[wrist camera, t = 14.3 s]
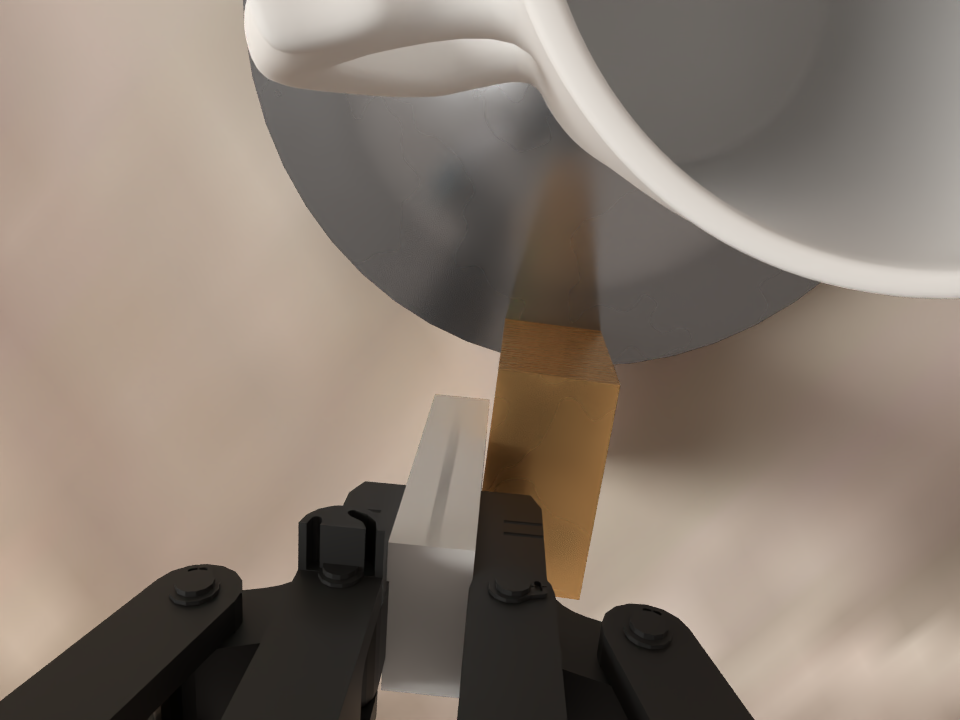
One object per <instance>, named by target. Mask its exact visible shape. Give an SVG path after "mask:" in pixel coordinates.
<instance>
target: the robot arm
mask: <svg viewBox="0 0 960 720" xmlns="http://www.w3.org/2000/svg"><path fill="white" fill-rule="evenodd" d="M488 411H489V400H488V399H477V398H467V397H457V396H446V395H435V396H434V400H433V403H432V406H431V409H430V412H429V415H428V418H427V422H426V425H425V428H424V431H423V434H422V437H421V441H420V444H419V447H418V450H417V453H416V456H415V460H414V463H413V466H412V469H411V472H410V475H409V478H408V482H407V485H397V484H387V483H376V482H366V481H365V482H364V483H362V484H361V485H359V486H358V487H356V488H355V489H354V490H352V491H351V492H349V494H348V496H347V498H346V500H345V503H344V505H343V506H331V507H326V508H321V509H318V510H316V511H313V512H311V513H309V514H307V515H306V516H305V517H304V518H303V519H302V520H301V521H300V522H299V544H298V571H297V573H296V575H295V577H294V579H293V581H292V582H289V583H286V584H283V585H279V586H274V587H268V588H260V589H250V590H242V579H241V578H240V577H239V576H238V574H237V573H236V572H235V571H233V570H230V569H228V568H226V567H224V566H217V565H210V564H200V565H192V566H187V567H184V568H181V569H177V570H174V571H171V572H170V573H168V574H166V575H164V576H163V577H161V578H159V579H157V580H156V581H155V582H153V583H152V584H151V585H150V586H148V587H147V588H146V589H144V590H143V591H142V592H141V593H139V594H138V595H137V596H135V597H134V598H133V599H131V600H130V601H129V602H128V603H126V604H125V605H124V606H122V607H121V608H120V609H119V610H117V611H116V612H115V613H113V614H112V615H111V616H110V617H108V618H107V619H106V620H104V621H103V622H102V623H101V624H99V625H98V626H97V627H95V628H94V629H93V630H91V631H90V632H89V633H88V634H86V635H85V636H84V637H82V638H81V639H80V640H79V641H77V642H76V643H75V644H73V645H72V646H71V647H70V648H68V649H67V650H66V651H64V652H63V653H62V654H60V655H59V656H58V657H57V658H55V659H54V660H53V661H51V662H50V663H49V664H48V665H46V666H45V667H44V668H42V669H41V670H40V671H39V672H37V673H36V674H35V675H33V676H32V677H31V678H29V679H28V680H27V681H26V682H24V683H23V684H22V685H20V686H19V687H18V688H17V689H15V690H14V691H13V692H11V693H10V694H9V695H8V696H6V697H5V698H4V699H2V700H1V701H0V720H375V719H376V711H377V690H378V685H379V681H380V677H381V673H382V683H381V690H386V691H396V692H406V693H415V694H423V695H433V696H443V697H453V698H459V706H458V717H457V720H754V719H753V717H752V716H751V714H750V713H749V712H748V710H747V709H746V707H745V706H744V705H743V703H742V702H741V700H740V699H739V698H738V696H737V695H736V693H735V692H734V691H733V689H732V688H731V686H730V685H729V684H728V682H727V681H726V679H725V678H724V677H723V675H722V674H721V673H720V671H719V670H718V668H717V667H716V666H715V664H714V663H713V661H712V660H711V659H710V657H709V656H708V654H707V653H706V652H705V650H704V649H703V647H702V646H701V645H700V643H699V642H698V640H697V639H696V638H695V636H694V635H693V633H692V632H691V631H690V629H689V628H688V627H687V626H686V625H685V624H684V623H683V622H682V621H681V620H680V619H679V618H677V617H675V616H673V615H672V614H670V613H668V612H666V611H665V610H662V609H659V608H656V607H652V606H649V605H643V604H625V605H621V606H616V607H614V608H613V609H611V610H610V611H608V612H607V613H605V616H604V618H603V621H602V622H601V621H597V620H594V619H591V618H588V617H585V616H583V615H580V614H578V613H575V612H573V611H571V610H570V609H568V608H566V607H565V606H563V605H562V604H561V603H560V602H558V601H557V600H556V598H555V593H554V590H553V588H552V585H551V584H550V583H549V582H548V581H547V572H546V559H545V545H544V532H543V519H542V509H541V508H540V506H539V505H538V504H537V503H536V501H535V500H534V499H533V498H532V497H531V495H522V494H511V493H500V492H490V491H481V489H482V478H483V467H484V455H485V444H486V433H487V422H488Z"/></svg>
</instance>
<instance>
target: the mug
mask: <svg viewBox="0 0 960 720" xmlns="http://www.w3.org/2000/svg"><path fill="white" fill-rule="evenodd" d="M244 27H245V35H246V40H247V45H248V49H249V52H250V55H251V58H252V60H253V62H254V64H255V65H256V67H257V69H258V70H259V71H260V72H261V73H262V74H263V75H264V76H265V77H266V78H268V79H270V80H272V81H274V82H277V83H280V84H282V85H286V86H290V87H294V88H300V89H307V90H315V91H324V92H334V93H346V94H357V95H368V96H384V97H437V96H444V95H449V94H454V93H459V92H463V91H468V90H473V89H477V88H482V87H487V86H492V85H497V84H502V83H510V82H523V83H528V84H531V85H532V86H534V87H535V88H537V90H538V91H539V92H540V93H541V94H542V97H543V99H544V101H545V103H546V105H547V106H548V108H549V110H550V111H551V113H552V114H553V116H554V117H555V119H556V120H557V122H558V123H559V124H560V126H561V127H562V128H563V129H564V131H565V132H566V133H567V134H568V135H569V136H570V137H571V139H572V140H573V141H574V142H575V143H577V144H578V145H579V146H580V147H581V148H582V149H583V150H585V151H586V152H587V153H589V154H590V155H591V156H593V157H594V158H595V159H597V160H598V161H600V162H601V163H603V164H605V165H606V166H608V167H609V168H611V169H612V170H613V171H615V172H616V173H618V174H619V175H620V176H622V177H623V178H624V179H626V180H627V181H629V182H630V183H631V184H633V185H634V186H635V187H637V188H638V189H640V190H641V191H642V192H644V193H645V194H647V195H648V196H650V197H651V198H653V199H654V200H656V201H657V202H658V203H660V204H661V205H663V206H664V207H666V208H668V209H669V210H671V211H673V212H674V213H676V214H678V215H679V216H681V217H683V218H684V219H686V220H688V221H690V222H692V223H693V224H695V225H696V226H697V227H699V228H700V229H702V230H703V231H705V232H707V233H708V234H710V235H712V236H713V237H715V238H717V239H718V240H720V241H722V242H723V243H725V244H727V245H729V246H731V247H733V248H735V249H737V250H738V251H740V252H742V253H744V254H746V255H749V256H751V257H753V258H755V259H757V260H759V261H762V262H764V263H766V264H769V265H771V266H774V267H776V268H779V269H781V270H784V271H787V272H790V273H792V274H795V275H798V276H801V277H804V278H808V279H811V280H814V281H818V282H821V283H825V284H829V285H833V286H837V287H842V288H846V289H851V290H857V291H862V292H867V293H873V294H881V295H888V296H897V297H909V298H925V299H960V0H246V5H245V11H244Z"/></svg>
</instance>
